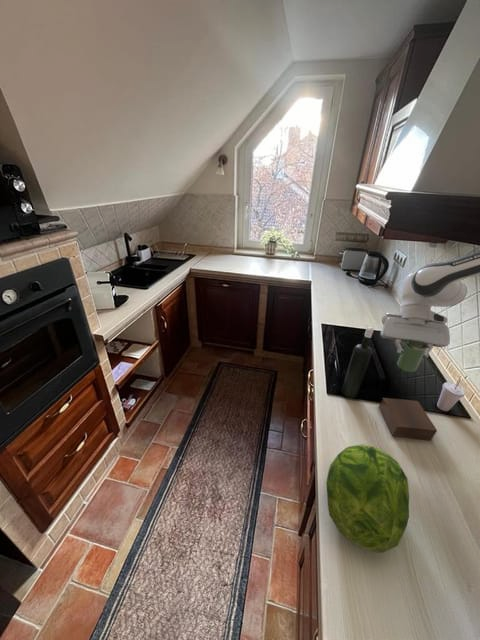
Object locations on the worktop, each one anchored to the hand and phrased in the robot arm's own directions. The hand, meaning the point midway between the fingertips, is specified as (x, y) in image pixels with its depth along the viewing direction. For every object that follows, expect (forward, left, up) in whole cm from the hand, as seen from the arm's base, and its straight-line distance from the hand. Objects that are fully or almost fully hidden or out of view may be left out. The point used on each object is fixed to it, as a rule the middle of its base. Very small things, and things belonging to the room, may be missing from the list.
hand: (412, 355), depth 86 cm
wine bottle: (+16, -1, -21) cm, 27 cm away
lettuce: (+24, +38, -21) cm, 49 cm away
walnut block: (+1, +11, -21) cm, 24 cm away
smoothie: (-17, +2, -21) cm, 27 cm away
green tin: (0, -1, -5) cm, 5 cm away
